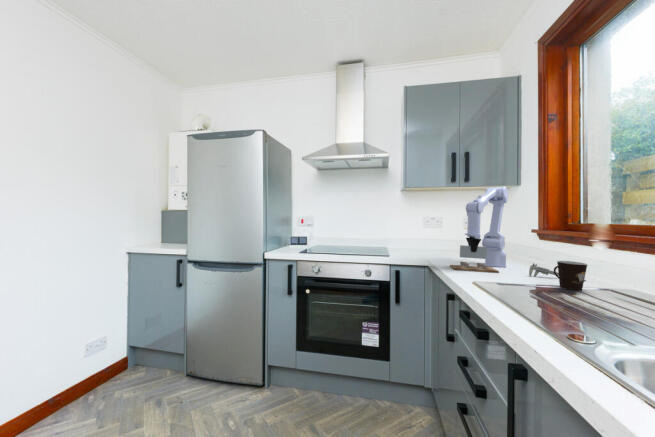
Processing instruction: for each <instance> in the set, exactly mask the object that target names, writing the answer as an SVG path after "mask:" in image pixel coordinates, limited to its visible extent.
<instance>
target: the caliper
mask: <svg viewBox="0 0 655 437" xmlns="http://www.w3.org/2000/svg"><path fill="white" fill-rule="evenodd" d="M528 270H529V271H528V272H529V273H528V275H529V276H530V277H532V275H533V277H535V278H536V277H537V276H538V274H539V273H540V274H543V275H546V276H548V275H554V276H556V275H555V274H554V270H550V269H548V268H545V267H541V266H538V264H537V263H536V264H535V263H532V265H530V266H529V269H528ZM533 272H534V273H533ZM556 274H557V275H558V276H559V273H558V271H556ZM584 282H587V280H586V279H584Z"/></svg>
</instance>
